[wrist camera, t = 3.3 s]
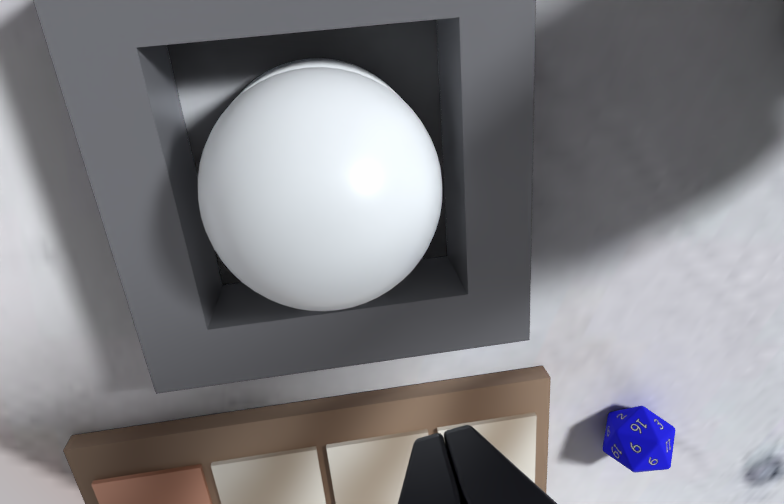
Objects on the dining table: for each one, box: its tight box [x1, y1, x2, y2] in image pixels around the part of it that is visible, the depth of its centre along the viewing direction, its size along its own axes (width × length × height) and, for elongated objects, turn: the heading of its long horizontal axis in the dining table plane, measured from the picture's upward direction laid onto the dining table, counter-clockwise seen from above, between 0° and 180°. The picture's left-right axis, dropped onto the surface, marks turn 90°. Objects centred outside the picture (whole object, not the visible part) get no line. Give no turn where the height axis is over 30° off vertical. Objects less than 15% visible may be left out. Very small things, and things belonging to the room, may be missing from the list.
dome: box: [198, 58, 442, 311], centre depth 15 cm, size 6×6×6 cm
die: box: [603, 406, 675, 472], centre depth 23 cm, size 3×3×3 cm
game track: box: [63, 366, 550, 504], centre depth 23 cm, size 18×7×1 cm, turn 95°
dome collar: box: [33, 0, 536, 394], centre depth 17 cm, size 12×12×3 cm
